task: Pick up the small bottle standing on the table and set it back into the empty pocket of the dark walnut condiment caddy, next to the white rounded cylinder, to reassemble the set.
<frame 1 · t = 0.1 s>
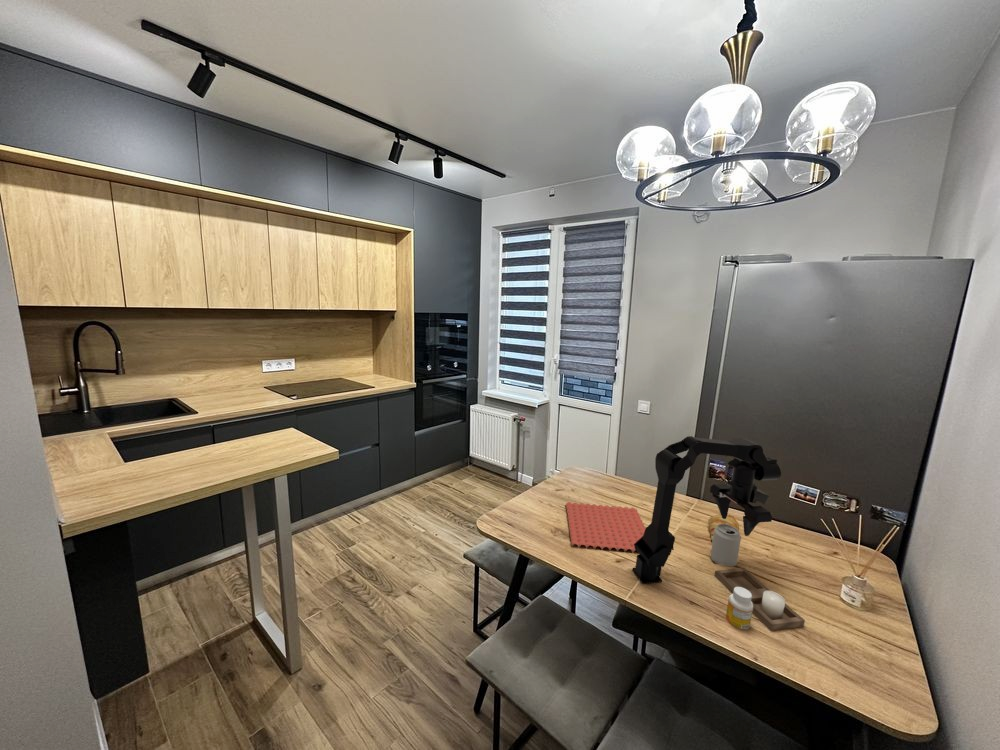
hand: (734, 526, 119), 15 cm above the table, fingers open, 9 cm apart
red studded mat: (606, 529, 142), on the table
supplement bottle: (736, 625, 100), on the table
white rounded cylinder: (771, 613, 103), point 1 cm above the table, touching caddy
caddy: (754, 602, 108), on the table
can: (722, 562, 125), on the table
croissant: (721, 533, 142), on the table
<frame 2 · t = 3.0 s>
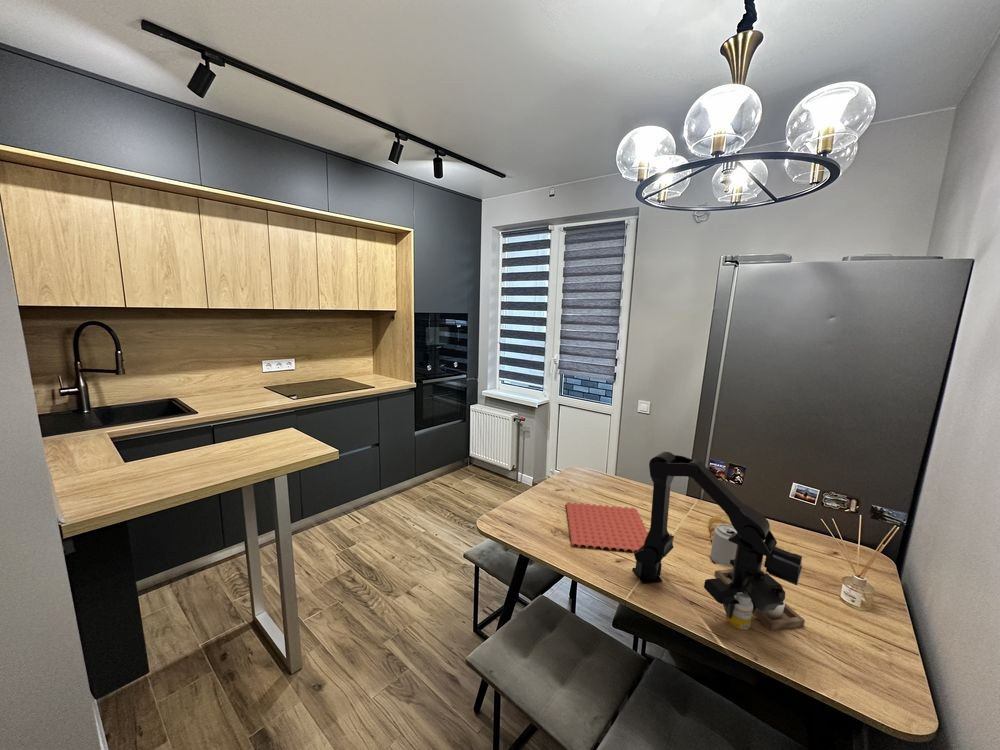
hand: (738, 616, 100), 3 cm above the table, fingers closed on supplement bottle, 5 cm apart
supplement bottle: (736, 625, 100), on the table, touching gripper
everything else where it was.
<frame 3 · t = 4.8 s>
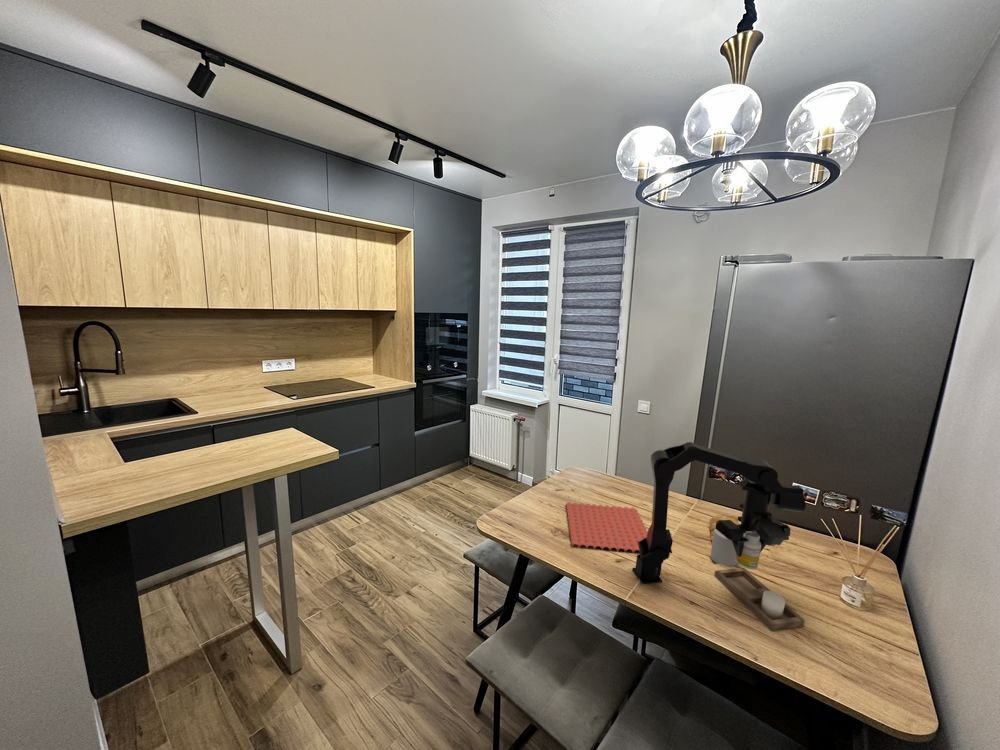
hand: (747, 555, 109), 13 cm above the table, fingers closed on supplement bottle, 5 cm apart
supplement bottle: (746, 564, 109), point 10 cm above the table, touching gripper
everything else where it was.
when the fingers open (5 cm above the table, at t = 6.7 s): supplement bottle drops 1 cm, resting on caddy.
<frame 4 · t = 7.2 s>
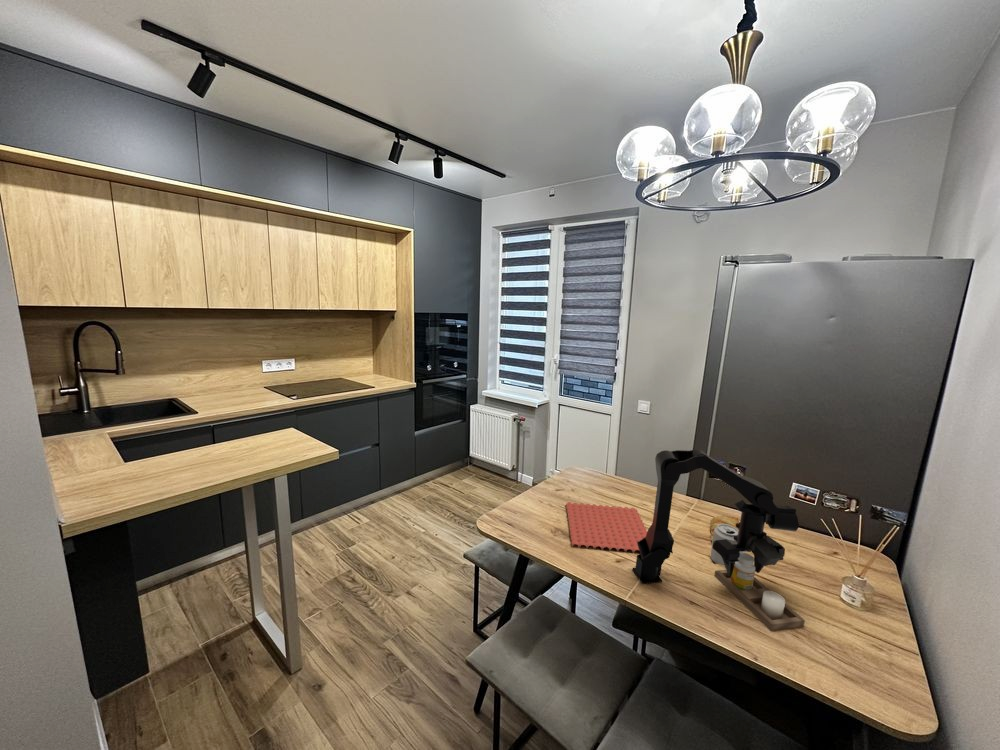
hand: (743, 573, 112), 5 cm above the table, fingers open, 9 cm apart
supplement bottle: (740, 586, 113), point 1 cm above the table, touching caddy
everything else where it was.
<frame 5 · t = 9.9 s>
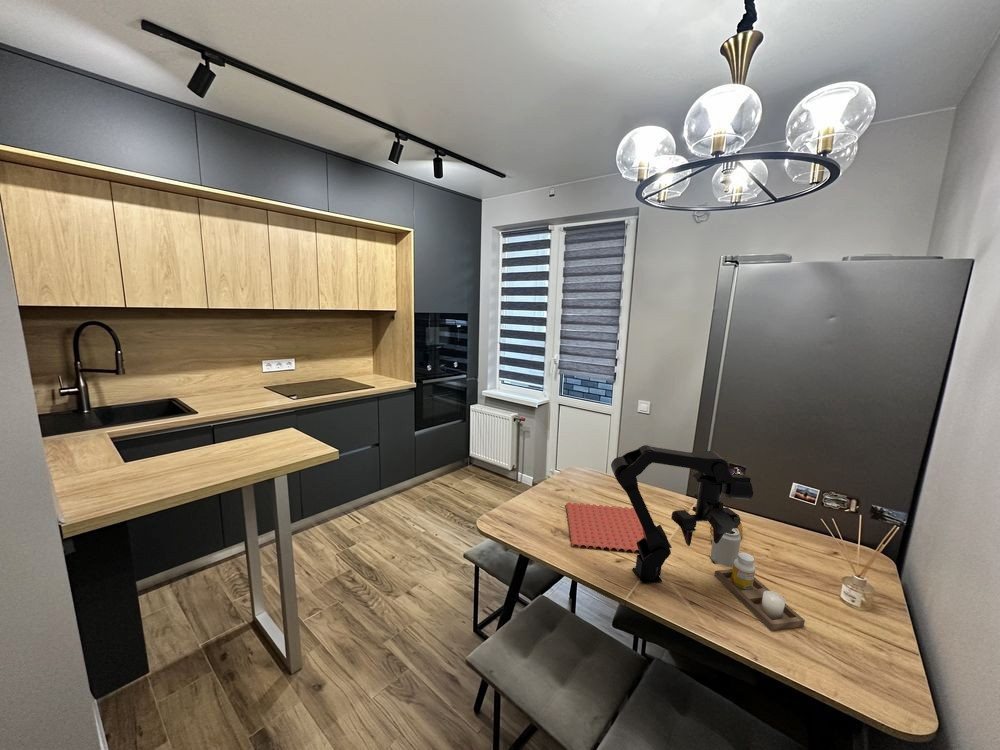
hand: (701, 543, 113), 13 cm above the table, fingers open, 9 cm apart
at the end: supplement bottle inside the target area on the caddy (0.1 cm from its centre), point 1.0 cm above the caddy's base; supplement bottle tilted 0°; the gripper is holding nothing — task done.
